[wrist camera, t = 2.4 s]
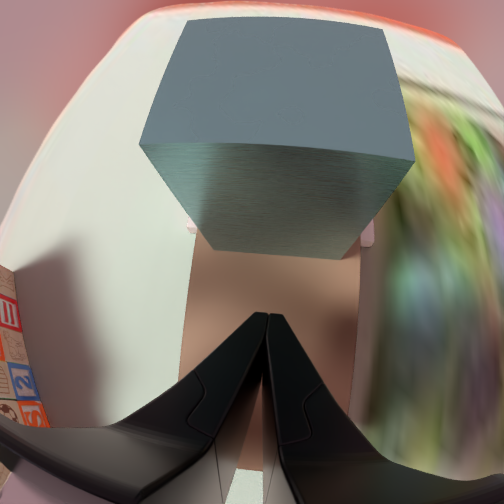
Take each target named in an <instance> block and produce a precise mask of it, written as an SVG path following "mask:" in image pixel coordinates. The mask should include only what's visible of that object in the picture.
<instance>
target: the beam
mask: <svg viewBox="0 0 504 504" xmlns="http://www.w3.org/2000/svg"><path fill="white" fill-rule="evenodd" d="M360 251H361V234H360V236H359V237H358V238H357V240H356V241H355V242H354V243H353V245H352V246H351V247H350V248H349V249H348V251H347V252H346V253H345V254H344V256H343V257H342V258H341V259H340V260H331V259H318V258H306V257H293V256H281V255H268V254H255V253H243V252H230V251H218V250H213V249H212V247H211V246H210V244H209V243H208V242H207V240H206V239H205V238H204V236H203V235H202V233H201V232H200V231H199V229H198V228H197V233H196V239H195V246H194V253H193V259H192V266H191V273H190V281H189V288H188V296H187V304H186V312H185V320H184V329H183V337H182V347H181V356H180V366H179V377H178V381H180V380H181V379H182V378H183V377H184V376H185V375H187V374H188V373H189V372H190V371H191V370H193V369H194V368H195V367H196V366H197V365H198V364H199V363H200V362H201V361H202V360H203V359H204V358H206V357H207V356H208V355H209V354H210V353H211V352H212V351H213V350H214V349H215V348H217V347H218V346H219V345H220V344H221V343H222V342H223V341H224V340H225V339H226V338H227V337H228V336H229V335H231V334H232V333H233V332H234V331H235V330H236V329H237V328H238V327H239V326H240V325H241V324H242V323H243V322H244V321H245V320H246V319H248V318H249V317H250V316H251V315H252V314H253V313H254V312H266V313H268V315H269V314H270V313H279V314H283V315H284V317H285V318H286V320H287V322H288V323H289V325H290V327H291V328H292V330H293V332H294V333H295V335H296V337H297V338H298V340H299V342H300V343H301V345H302V346H303V348H304V350H305V351H306V353H307V355H308V356H309V358H310V360H311V361H312V363H313V365H314V366H315V368H316V370H317V371H318V373H319V374H320V376H321V378H322V379H323V381H324V383H325V384H326V386H327V387H328V389H329V391H330V392H331V394H332V395H333V397H334V398H335V400H336V401H337V403H338V404H339V406H340V407H341V408H342V410H343V411H344V412H345V413H346V415H347V416H348V409H349V402H350V395H351V387H352V379H353V370H354V360H355V350H356V338H357V325H358V309H359V289H360ZM236 468H238V469H246V470H254V471H263V443H262V380H261V385H260V389H259V393H258V396H257V400H256V403H255V407H254V410H253V414H252V417H251V421H250V424H249V428H248V431H247V434H246V438H245V441H244V444H243V448H242V451H241V454H240V457H239V461H238V464H237V467H236Z"/></svg>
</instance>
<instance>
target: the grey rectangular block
mask: <svg viewBox="0 0 504 504" xmlns="http://www.w3.org/2000/svg"><path fill="white" fill-rule="evenodd" d="M139 145H140V147H141V148H142V150H143V151H144V153H145V154H146V156H147V157H148V158H149V160H150V161H151V163H152V164H153V166H154V167H155V169H156V170H157V171H158V173H159V174H160V176H161V177H162V179H163V180H164V181H165V183H166V184H167V186H168V187H169V189H170V190H171V191H172V193H173V194H174V196H175V197H176V199H177V200H178V201H179V203H180V204H181V206H182V207H183V208H184V210H185V211H186V213H187V214H188V215H189V217H190V218H191V220H192V221H193V222H194V224H195V225H196V227H197V228H198V229H199V231H200V232H201V233H202V235H203V236H204V238H205V239H206V240H207V242H208V243H209V244H210V246H211V247H212V249H213V250H218V251H230V252H243V253H255V254H268V255H281V256H293V257H306V258H318V259H331V260H340V259H341V258H342V257H343V256H344V254H345V253H346V252H347V251H348V249H349V248H350V247H351V246H352V245H353V243H354V242H355V241H356V240H357V238H358V237H359V236H360V234H361V233H362V232H363V231H364V229H365V228H366V227H367V226H368V224H369V223H370V222H371V220H372V219H373V218H374V217H375V215H376V214H377V213H378V211H379V210H380V209H381V207H382V206H383V205H384V203H385V202H386V201H387V199H388V198H389V197H390V195H391V194H392V193H393V191H394V190H395V189H396V187H397V186H398V185H399V183H400V182H401V181H402V179H403V178H404V176H405V175H406V174H407V172H408V171H409V169H410V168H411V167H412V165H413V164H414V162H415V156H414V150H413V144H412V138H411V133H410V128H409V123H408V118H407V114H406V109H405V105H404V101H403V97H402V93H401V89H400V85H399V81H398V77H397V74H396V70H395V67H394V63H393V60H392V57H391V53H390V50H389V47H388V44H387V41H386V38H385V35H384V32H383V29H378V28H373V27H368V26H362V25H356V24H349V23H342V22H335V21H326V20H317V19H305V18H289V17H227V18H211V19H199V20H189V21H187V23H186V25H185V27H184V29H183V32H182V34H181V36H180V38H179V40H178V42H177V45H176V47H175V49H174V51H173V54H172V56H171V58H170V61H169V63H168V65H167V68H166V70H165V73H164V75H163V78H162V80H161V83H160V85H159V88H158V90H157V93H156V96H155V98H154V101H153V104H152V107H151V109H150V112H149V115H148V118H147V121H146V124H145V127H144V130H143V133H142V136H141V139H140V142H139Z"/></svg>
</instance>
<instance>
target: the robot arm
mask: <svg viewBox="0 0 504 504" xmlns="http://www.w3.org/2000/svg"><path fill="white" fill-rule="evenodd" d="M261 380H262V443H263V504H504V474H494V475H490V476H487V477H484V478H481V479H477V480H471V481H459V480H452V479H447V478H443V477H440V476H436V475H432V474H429V473H425V472H422V471H419V470H416V469H412V468H409V467H406V466H403V465H400V464H397V463H394V462H392V461H390V460H388V459H387V458H385V457H384V456H382V455H381V454H380V453H379V452H378V451H377V450H376V449H375V448H374V447H373V446H372V444H371V443H370V442H369V441H368V440H367V439H366V437H365V436H364V435H363V434H362V433H361V431H360V430H359V429H358V428H357V427H356V426H355V424H354V423H353V422H352V421H351V420H350V418H349V417H348V416H347V415H346V413H345V412H344V411H343V410H342V408H341V407H340V406H339V404H338V403H337V401H336V400H335V398H334V397H333V395H332V394H331V392H330V391H329V389H328V387H327V386H326V384H325V383H324V381H323V379H322V378H321V376H320V374H319V373H318V371H317V370H316V368H315V366H314V365H313V363H312V361H311V360H310V358H309V356H308V355H307V353H306V351H305V350H304V348H303V346H302V345H301V343H300V342H299V340H298V338H297V337H296V335H295V333H294V332H293V330H292V328H291V327H290V325H289V323H288V322H287V320H286V318H285V317H284V315H283V314H279V313H270V314H269V315H268V313H266V312H254V313H253V314H252V315H251V316H250V317H249V318H248V319H246V320H245V321H244V322H243V323H242V324H241V325H240V326H239V327H238V328H237V329H236V330H235V331H234V332H233V333H232V334H231V335H229V336H228V337H227V338H226V339H225V340H224V341H223V342H222V343H221V344H220V345H219V346H218V347H217V348H215V349H214V350H213V351H212V352H211V353H210V354H209V355H208V356H207V357H206V358H204V359H203V360H202V361H201V362H200V363H199V364H198V365H197V366H196V367H195V368H194V369H193V370H191V371H190V372H189V373H188V374H187V375H185V376H184V377H183V378H182V379H181V380H180V381H178V382H177V383H176V384H175V385H174V386H172V387H171V388H170V389H168V390H167V391H165V392H164V393H163V394H161V395H160V396H158V397H157V398H155V399H154V400H152V401H151V402H149V403H148V404H146V405H145V406H143V407H142V408H140V409H139V410H137V411H135V412H134V413H132V414H131V415H129V416H128V417H126V418H124V419H123V420H121V421H119V422H117V423H114V424H112V425H109V426H104V427H90V428H48V427H33V426H28V425H23V424H20V423H17V422H15V421H13V420H11V419H9V418H8V417H6V416H4V415H3V414H1V413H0V462H1V463H2V464H3V465H4V466H5V467H6V468H7V469H8V470H9V471H10V473H9V475H8V477H7V479H6V480H5V482H4V484H3V485H2V487H1V489H0V504H225V501H226V498H227V495H228V492H229V489H230V486H231V483H232V480H233V477H234V474H235V470H236V467H237V464H238V461H239V457H240V454H241V451H242V448H243V444H244V441H245V438H246V434H247V431H248V428H249V424H250V421H251V417H252V414H253V410H254V407H255V403H256V400H257V396H258V393H259V389H260V385H261Z"/></svg>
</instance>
